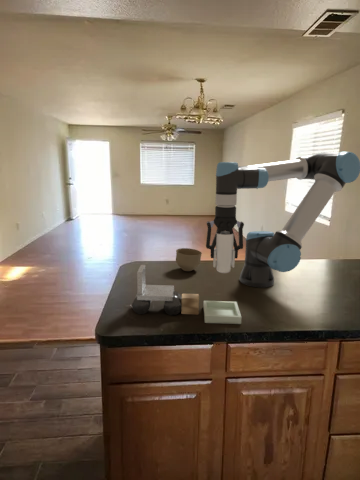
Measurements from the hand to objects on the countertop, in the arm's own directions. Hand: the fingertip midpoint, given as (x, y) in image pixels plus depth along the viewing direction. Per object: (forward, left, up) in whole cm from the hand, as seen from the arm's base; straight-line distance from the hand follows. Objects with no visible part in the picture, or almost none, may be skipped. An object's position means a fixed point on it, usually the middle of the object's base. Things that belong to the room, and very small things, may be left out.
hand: (223, 266), depth 120 cm
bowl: (+13, -34, -14) cm, 39 cm away
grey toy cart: (+24, +11, -14) cm, 30 cm away
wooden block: (+12, +11, -14) cm, 22 cm away
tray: (+1, +13, -14) cm, 19 cm away
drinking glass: (0, 0, -2) cm, 2 cm away
